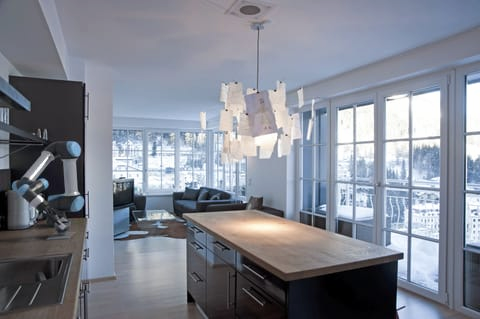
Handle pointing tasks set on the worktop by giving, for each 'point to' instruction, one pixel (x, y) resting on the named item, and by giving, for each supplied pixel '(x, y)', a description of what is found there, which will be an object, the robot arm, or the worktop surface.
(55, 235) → the rubber mat
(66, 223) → the mortar and pestle
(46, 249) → the worktop surface
